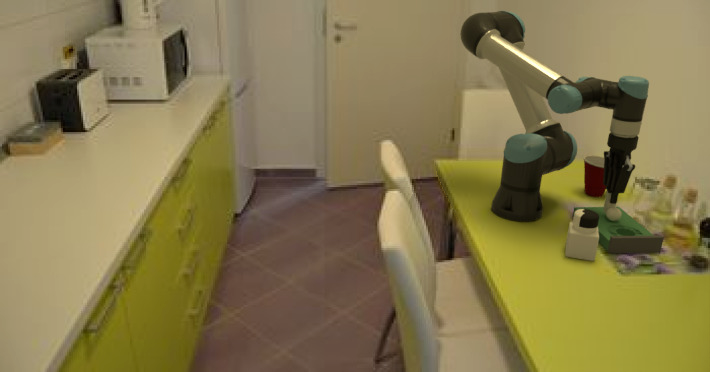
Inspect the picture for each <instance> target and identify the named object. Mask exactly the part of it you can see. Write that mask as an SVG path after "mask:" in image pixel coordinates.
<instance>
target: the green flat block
mask: <svg viewBox="0 0 710 372" xmlns="http://www.w3.org/2000/svg"><path fill="white" fill-rule="evenodd" d="M603 208H604V206H578V207H577V206H576V207H575V206H574V207H573V211H572V217H573V218H574V213H575V211H576V210H579V209H589V210H592V211H594V212H596V213H598V215H599V222H598V232H599V241H598V244H600V245H601V246H602V248H603V249H605V250H606V251H607V252H608V253H609V254H650V253H651V254H653V253H656V254H657V253H659V254H660V253H661V251H662V245H663V243H664V236H663V235H661V234H660V235H657V234H656V235H655V234H653V233H652V232H650V231H649V230H647V228H645V227H644V226H643V225H642V224H641V223H639V222H638V221H637V220H636V219H635V218H633V217H632V216H631V215H630V214H628V213H627V212H626V211H625V210H624V209H622V208H621V207H620V206H616V208H618V209H619V210H620V211H621V214H622V215H621V218H620V219H619V220H618V221H610V220H609V219H608V218H607V216H606V213H604V212H603Z"/></svg>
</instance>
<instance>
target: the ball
mask: <svg viewBox="0 0 710 372" xmlns="http://www.w3.org/2000/svg"><path fill="white" fill-rule="evenodd" d="M616 207H617V206H616ZM616 207H612V208H609V209H608V210H607V212H606V216H607V218H608V219H609V220H610V221H618V220H619V219H620V218H621V215H622V214H621V211H620V210H619V209H618V208H616Z"/></svg>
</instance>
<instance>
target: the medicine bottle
mask: <svg viewBox="0 0 710 372" xmlns="http://www.w3.org/2000/svg"><path fill="white" fill-rule="evenodd" d="M572 219H573V220H572V221H570V222H569V225H568V229H567V230H568V231H567V234H566V240H565V257H566V258H571V259H572V258H573V259H579V260H584V261H590V262H591V261H592V262H595V260H596V255H597V251H598V245H599V242H598V241H599V232H598V222H599V215H598V213H596V212H594V211H592V210H589V209H579V210H576V211H575V213H574V217H573V218H572Z"/></svg>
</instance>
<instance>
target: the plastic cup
mask: <svg viewBox="0 0 710 372" xmlns="http://www.w3.org/2000/svg"><path fill="white" fill-rule="evenodd" d="M583 163H584V167H583V169H584V177H583V178H584V179H583V180H584V181H583V182H584V194H585V195H586V196H589V197H593V198H601V197H604V195H605V193H606V191H607V190H606V185H603V175H604V156H601V155H600V156H599V155H594V154H593V155H590V154H589V155H585V156H583Z"/></svg>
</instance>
